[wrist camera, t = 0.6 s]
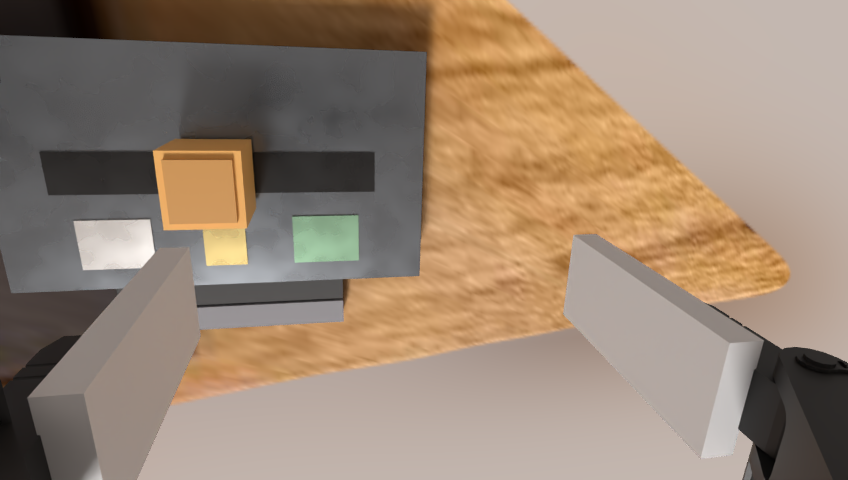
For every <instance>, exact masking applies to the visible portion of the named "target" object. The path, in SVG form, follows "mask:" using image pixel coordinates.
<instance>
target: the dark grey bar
mask: <svg viewBox="0 0 848 480" xmlns="http://www.w3.org/2000/svg"><path fill="white" fill-rule="evenodd" d="M194 288H195V296H196V304H197V305H209V304H229V303H249V302H270V301H290V300H311V299H331V298H343V279H334V280H310V281H286V282H263V283H239V284H216V285H194ZM122 290H123V288H121V289H117V294H119V293H120V292H121V291H122Z"/></svg>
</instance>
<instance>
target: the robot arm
mask: <svg viewBox="0 0 848 480" xmlns="http://www.w3.org/2000/svg"><path fill="white" fill-rule="evenodd" d="M563 314H564V315H565V317H566V318H567V319H568V320H569V321H570V322H571V323H572V324H573V325H574V326H575V327H576V328H577V329H578V330H579V331H580V332H581V333H582V334H583V335H584V336H585V338H586V339H587V340H588V341H589V342H590V343H591V344H592V345H593V346H594V347H595V348H596V349H597V350H598V351H599V352H600V353H601V354H602V356H603V357H604V358H605V359H606V360H607V361H608V362H609V363H610V364H611V365H612V366H613V367H614V368H615V369H616V370H617V371H618V372H619V373H620V374H621V376H622V377H623V378H624V379H625V380H626V381H627V382H628V383H629V384H630V385H631V386H632V387H633V388H634V389H635V390H636V391H637V392H638V393H639V395H640V396H641V397H642V398H643V399H644V400H645V401H646V402H647V403H648V404H649V405H650V406H651V407H652V408H653V409H654V410H655V411H656V413H658V415H660V417H661V418H662V419H663V420H664V421H665V422H666V423H667V424H668V425H669V426H670V427H671V428H672V429H673V430H674V432H675V433H676V434H677V435H678V436H679V437H680V438H681V439H682V440H683V441H684V442H685V443H686V444H687V445H688V446H689V447H690V448H691V449H692V451H693V452H694V453H695V454H696V455H697V456H698V457H699V458H700V459H704V458H712V457H720V456H728V455H732V454H733V451H734V447H735V444H736V440H737V436H738V433H739V430H740V431H741V432H742V433H743V434H745V435H746V436H747V437H748V438H749V439H750V440H751V441H753V445H752V449H751V452H750V455H749V459H748V462H747V466H746V469H745V473H744V476H743V479H742V480H848V363H847V362H845V361H843V360H841V359H839V358H837V357H834V356H832V355H829V354H827V353H824V352H820V351H816V350H812V349H808V348H799V347H792V348H784V349H783V350H782V349H780V348H779V347H778V346H775V345H774V344H773V343H771V342H770V341H768V340H766V339H765V338H763V337H762V336H760V335H759V334H757V333H755V332H754V331H752V330H751V329H749V328H747V327H745V326H742V324H741V323H739V322H738V321H736V320H735V319H733V318H729V316H728V315H727V314H725V313H724V312H722V311H720V310H719V309H717V308H716V307H714V306H712V305H709V304H707V303H704V302H702V301H701V300H699V299H698V298H696V297H695V296H693V295H691V294H690V293H688V292H687V291H685V290H683V289H682V288H680V287H679V286H677V285H676V284H674V283H672V282H671V281H669V280H668V279H666V278H665V277H663V276H661V275H660V274H658V273H657V272H655V271H654V270H652V269H650V268H649V267H647V266H646V265H644V264H642V263H641V262H639V261H638V260H636V259H635V258H633V257H631V256H630V255H628V254H627V253H625V252H624V251H622V250H620V249H619V248H617V247H616V246H614V245H613V244H611V243H609V242H608V241H606V240H605V239H603V238H601V237H600V236H598V235H597V234H585V235H574V236H573V243H572V251H571V259H570V266H569V274H568V281H567V289H566V297H565V304H564V312H563ZM200 337H201V336H200V328H199V320H198V312H197V304H196V296H195V288H194V280H193V272H192V264H191V256H190V249H189V247H177V248H159V249H158V250H157V251H156V252H155V253H154V254H153V256H152V257H151V258H150V259H149V260H148V261H147V262H146V263H145V265H144V266H143V267H142V268H141V269H140V270H139V271H138V273H137V274H136V275H135V276H134V277H133V278H132V279H131V281H130V282H129V283H128V284H127V285H126V286H125V287H124V288H123V290H122V291H121V292H120V293H119V294H118V295H117V296H116V298H115V299H114V300H113V301H112V302H111V303H110V304H109V306H108V307H107V308H106V309H105V310H104V311H103V312H102V313H101V315H100V316H99V317H98V318H97V319H96V320H95V321H94V323H93V324H92V325H91V326H90V327H89V328H88V329H87V331H86V332H85V333H84V334H83V335H79V336H64V337H62V338H60V339H59V340H57V341H55V342H53V343H52V344H50V345H48V346H46V347H45V348H43V349H41V350H40V351H39V352H38V353H37V354H36V355H35V356H34V357H33V358H32V359H31V360H30V361H29V362H28V363H27V364H26V368H22V369H21V370H20V371H19V372H18V373H17V374H16V375H15V376H14V377H13V381H9V382H8V384H7V385H6V386H5V387H4V388H3V387H2V384H1V380H0V480H137V478H138V476H139V473H140V471H141V469H142V467H143V464H144V462H145V460H146V458H147V455H148V453H149V451H150V449H151V446H152V444H153V442H154V440H155V438H156V435H157V433H158V431H159V428H160V426H161V424H162V422H163V420H164V417H165V415H166V413H167V410H168V408H169V406H170V404H171V402H172V399H173V397H174V395H175V393H176V390H177V388H178V386H179V384H180V382H181V379H182V377H183V375H184V373H185V370H186V368H187V366H188V364H189V361H190V359H191V357H192V355H193V352H194V350H195V348H196V346H197V343H198V341H199V339H200Z"/></svg>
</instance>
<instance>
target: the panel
mask: <svg viewBox="0 0 848 480" xmlns="http://www.w3.org/2000/svg"><path fill="white" fill-rule="evenodd" d="M426 56H427V52H414V51H389V50H364V49H338V48H313V47H288V46H263V45H237V44H212V43H187V42H162V41H136V40H111V39H86V38H60V37H35V36H10V35H0V249H1V253H2V257H3V261H4V265H5V269H6V273H7V277H8V281H9V285H10V289H11V293H26V292H50V291H74V290H97V289H121V288H124V287H125V286H126V285H127V284H128V283H129V282H130V281H131V279H132V278H133V277H134V276H135V275H136V274H137V273H138V271H139V270H140V269H141V268H142V267H143V266H144V265H145V263H146V262H147V261H148V260H149V259H150V258H151V257H152V256H153V254H154V253H155V252H156V251H157V250H158V249H159V248H177V247H189V249H190V256H191V264H192V272H193V280H194V285H216V284H239V283H263V282H286V281H310V280H334V279H357V278H381V277H405V276H419V271H420V240H421V210H422V179H423V148H424V118H425V87H426ZM174 139H251V144H252V157H253V171H254V184H255V197H256V210H255V212H254V214H253V216H252V219H251V221H250V223H249V225H248V227H247V228H245V229H202V230H164V229H163V222H162V214H161V207H160V200H159V193H158V185H157V178H156V171H155V163H154V156H153V150H155V149H157V148H159V147H160V146H162V145H164V144H166V143H168V142H170V141H172V140H174Z"/></svg>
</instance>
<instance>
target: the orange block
mask: <svg viewBox="0 0 848 480" xmlns="http://www.w3.org/2000/svg"><path fill="white" fill-rule="evenodd" d="M153 156H154V163H155V171H156V178H157V185H158V193H159V200H160V207H161V214H162V222H163V229H164V230H202V229H245V228H247V227H248V225H249V223H250V221H251V219H252V216H253V214H254V212H255V210H256V197H255V184H254V171H253V157H252V144H251V139H174V140H172V141H170V142H168V143H166V144H164V145H162V146H160V147H159V148H157V149H155V150H153Z"/></svg>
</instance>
